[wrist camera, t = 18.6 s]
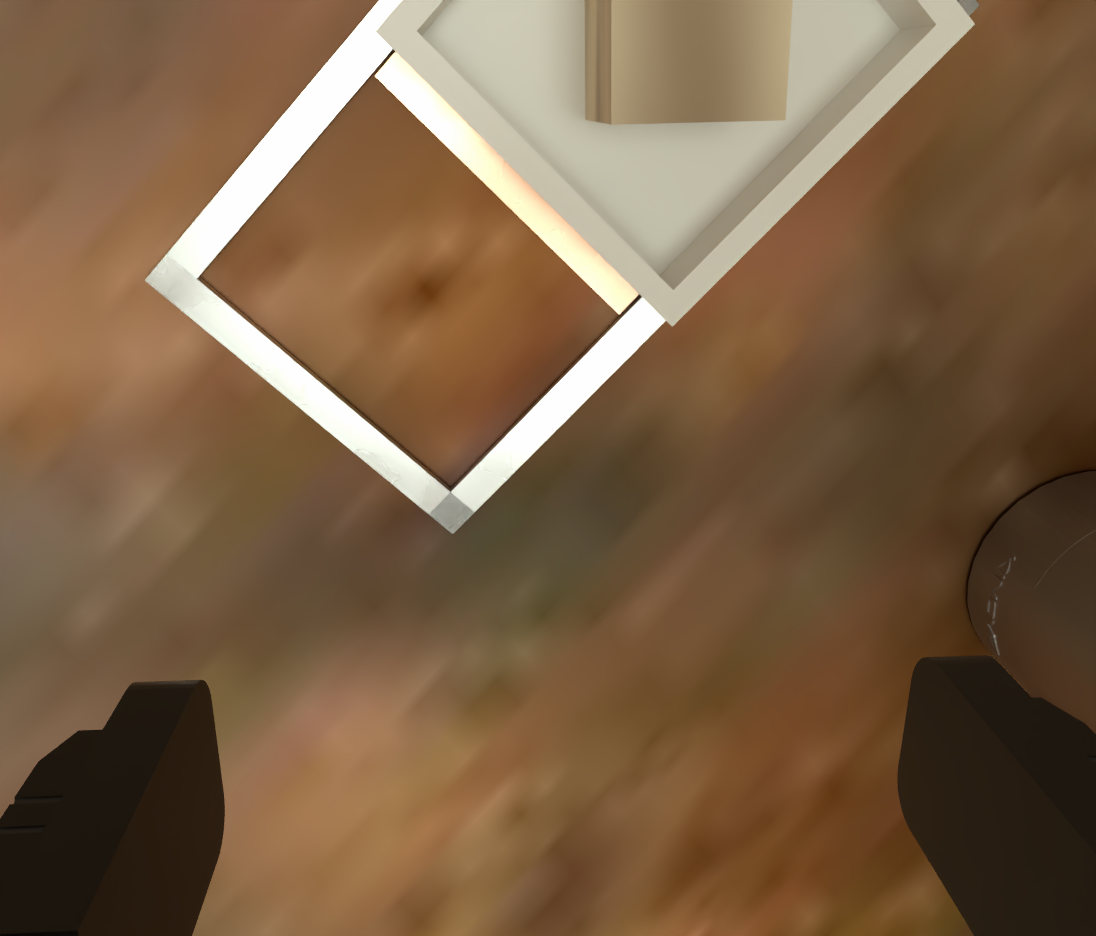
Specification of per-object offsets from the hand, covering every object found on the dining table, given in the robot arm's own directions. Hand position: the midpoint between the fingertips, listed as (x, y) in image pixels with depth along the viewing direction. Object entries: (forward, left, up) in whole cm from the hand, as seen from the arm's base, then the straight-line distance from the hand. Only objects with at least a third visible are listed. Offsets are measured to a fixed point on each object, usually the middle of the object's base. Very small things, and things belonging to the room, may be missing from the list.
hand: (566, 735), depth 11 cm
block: (-5, -8, -23) cm, 25 cm away
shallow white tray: (-5, -9, -25) cm, 27 cm away
